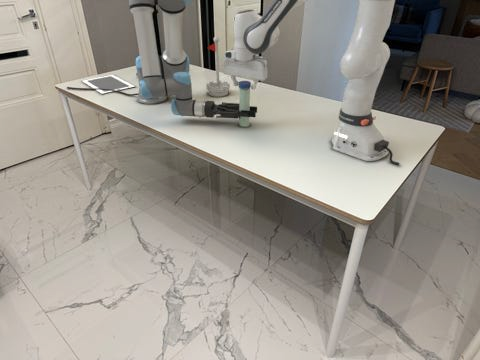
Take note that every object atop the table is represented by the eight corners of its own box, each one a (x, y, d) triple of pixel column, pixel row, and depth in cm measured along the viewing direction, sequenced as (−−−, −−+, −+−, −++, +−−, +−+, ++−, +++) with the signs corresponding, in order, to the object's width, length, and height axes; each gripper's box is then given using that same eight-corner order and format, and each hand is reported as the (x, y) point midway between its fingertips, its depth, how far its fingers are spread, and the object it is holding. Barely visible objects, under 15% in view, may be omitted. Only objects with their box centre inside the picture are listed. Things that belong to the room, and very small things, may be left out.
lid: (241, 84, 149) (241, 80, 148) (252, 85, 147) (252, 81, 146) (236, 88, 144) (236, 83, 143) (248, 89, 143) (248, 85, 142)
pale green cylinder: (237, 125, 155) (237, 85, 145) (242, 122, 158) (242, 82, 148) (246, 127, 153) (246, 87, 143) (251, 124, 156) (251, 84, 146)
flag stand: (225, 88, 199) (224, 33, 182) (233, 95, 188) (232, 38, 172) (204, 91, 195) (200, 35, 178) (210, 98, 184) (207, 39, 168)
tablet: (81, 81, 211) (81, 80, 210) (113, 75, 222) (113, 74, 222) (102, 94, 190) (101, 93, 190) (135, 86, 201) (135, 86, 201)
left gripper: (210, 109, 164) (258, 112, 160) (201, 124, 149) (253, 127, 146) (209, 94, 159) (258, 97, 156) (199, 108, 145) (253, 111, 142)
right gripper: (271, 55, 136) (269, 89, 144) (228, 49, 145) (228, 81, 152) (263, 58, 131) (262, 93, 139) (220, 52, 140) (221, 85, 148)
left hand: (256, 111), depth 151 cm, fingers closed on pale green cylinder, 5 cm apart
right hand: (244, 87), depth 146 cm, fingers open, 7 cm apart
